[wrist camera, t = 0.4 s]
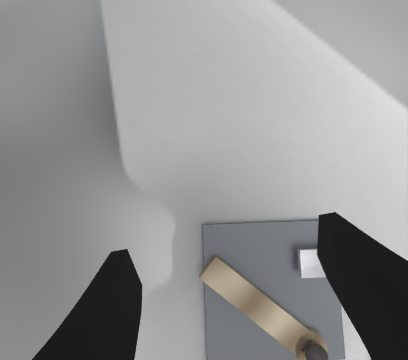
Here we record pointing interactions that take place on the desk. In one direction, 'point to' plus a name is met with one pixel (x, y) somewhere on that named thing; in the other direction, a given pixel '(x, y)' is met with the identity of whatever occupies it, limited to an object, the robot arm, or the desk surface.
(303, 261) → the keeper
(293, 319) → the tan latch lever
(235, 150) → the desk surface
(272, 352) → the base plate
